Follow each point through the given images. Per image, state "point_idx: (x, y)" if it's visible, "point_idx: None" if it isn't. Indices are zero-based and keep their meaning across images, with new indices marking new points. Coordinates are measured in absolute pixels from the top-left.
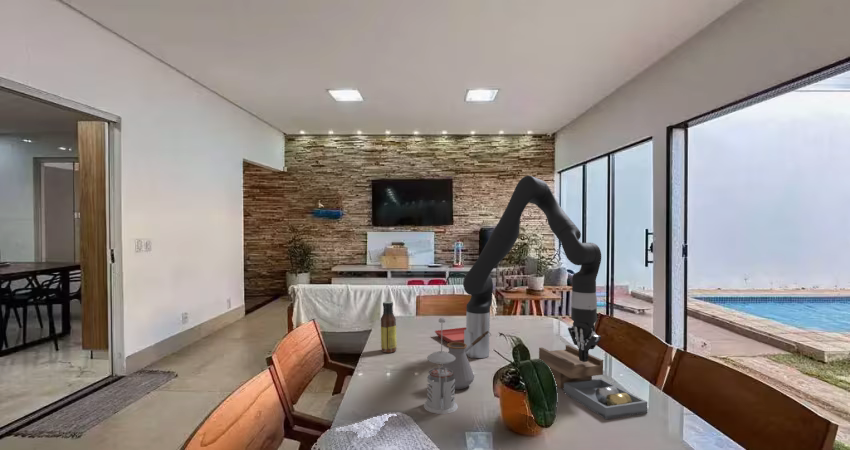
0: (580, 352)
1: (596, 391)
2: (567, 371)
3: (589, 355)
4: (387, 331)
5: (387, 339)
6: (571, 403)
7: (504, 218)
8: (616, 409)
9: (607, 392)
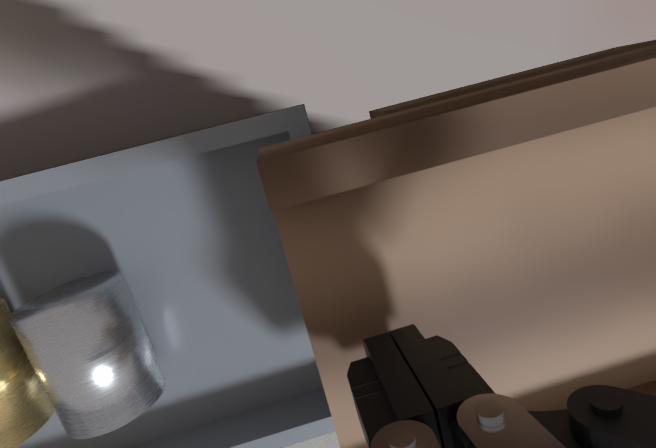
0: (424, 382)
1: (106, 287)
2: (311, 138)
3: None
4: None
5: None
6: (113, 84)
7: None
8: None
9: (24, 348)
